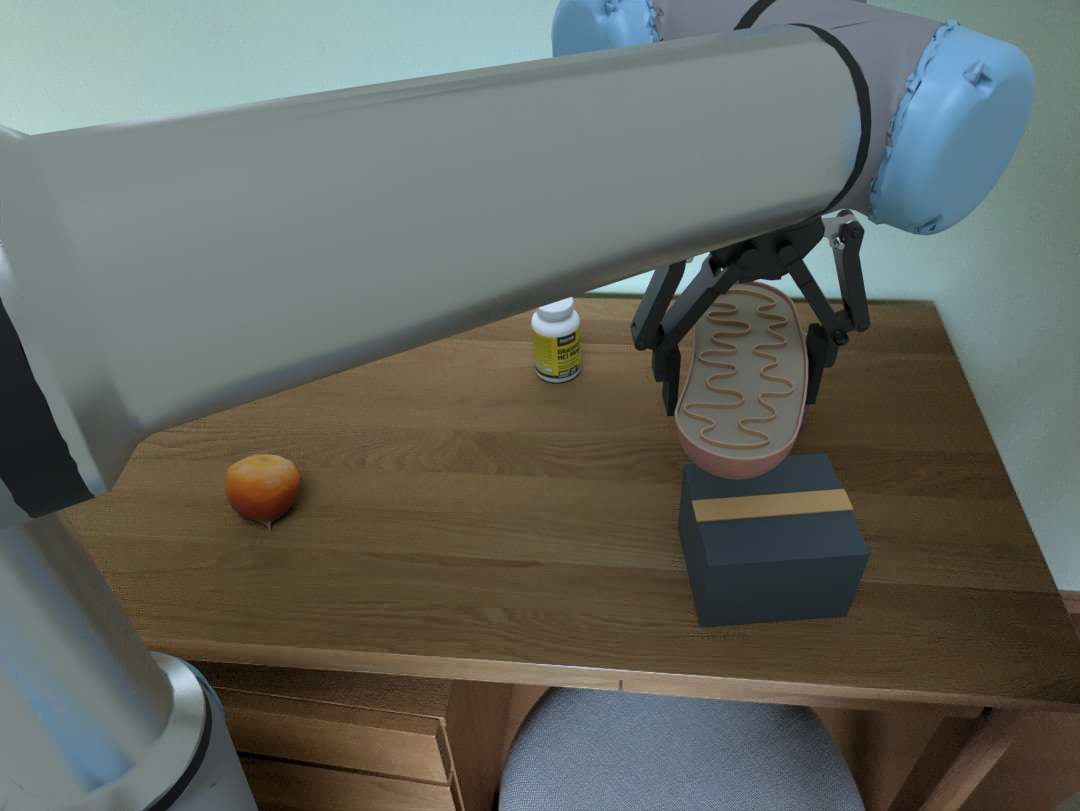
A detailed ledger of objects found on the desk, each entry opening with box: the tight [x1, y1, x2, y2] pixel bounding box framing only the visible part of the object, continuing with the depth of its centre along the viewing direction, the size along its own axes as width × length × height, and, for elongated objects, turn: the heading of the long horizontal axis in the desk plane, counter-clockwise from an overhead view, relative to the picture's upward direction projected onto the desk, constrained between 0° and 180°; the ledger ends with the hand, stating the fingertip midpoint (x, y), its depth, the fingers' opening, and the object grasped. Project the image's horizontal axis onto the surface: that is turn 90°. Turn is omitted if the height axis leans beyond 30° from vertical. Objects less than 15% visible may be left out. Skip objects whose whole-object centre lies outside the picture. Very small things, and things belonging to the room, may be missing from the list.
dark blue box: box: [677, 452, 871, 628], centre depth 75 cm, size 14×12×10 cm
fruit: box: [224, 453, 302, 533], centre depth 86 cm, size 8×8×8 cm
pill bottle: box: [530, 297, 582, 384], centre depth 99 cm, size 6×6×11 cm
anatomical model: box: [674, 280, 808, 480], centre depth 65 cm, size 23×10×5 cm, turn 167°
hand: (737, 399), depth 66 cm, fingers closed on anatomical model, 11 cm apart
